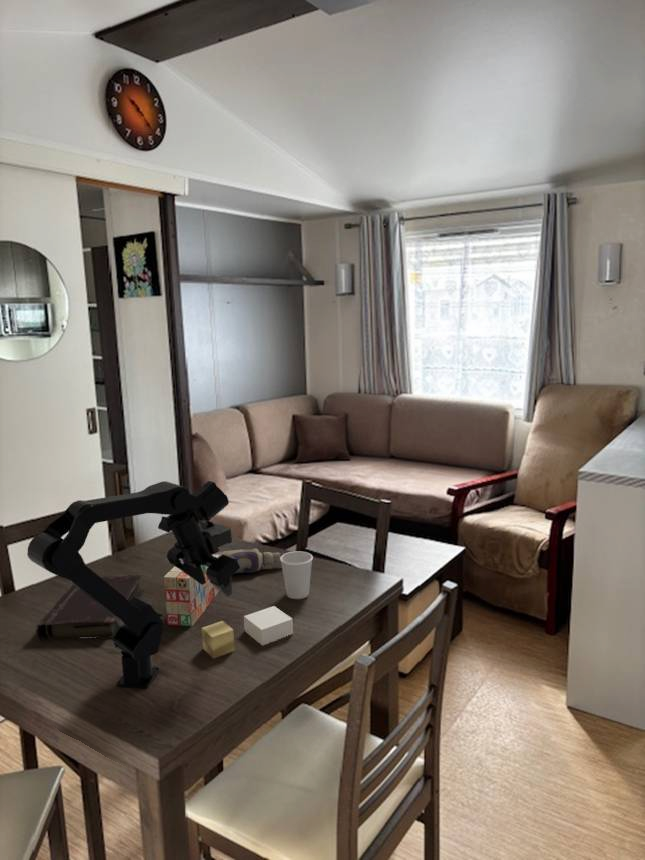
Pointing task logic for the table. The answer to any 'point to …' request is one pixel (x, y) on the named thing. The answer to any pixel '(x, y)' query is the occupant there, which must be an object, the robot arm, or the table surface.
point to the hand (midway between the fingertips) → (216, 589)
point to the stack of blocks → (186, 596)
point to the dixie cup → (297, 573)
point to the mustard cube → (218, 639)
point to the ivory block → (268, 625)
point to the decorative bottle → (252, 559)
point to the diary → (87, 611)
